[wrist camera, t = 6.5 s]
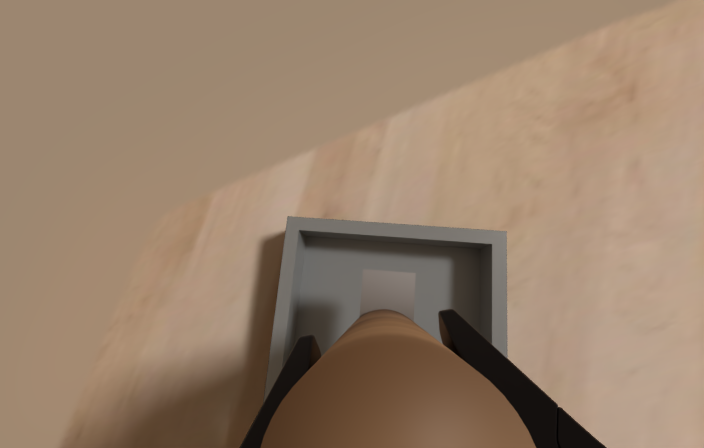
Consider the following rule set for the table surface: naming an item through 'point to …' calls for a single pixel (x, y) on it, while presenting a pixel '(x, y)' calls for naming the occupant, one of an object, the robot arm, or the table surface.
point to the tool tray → (386, 255)
